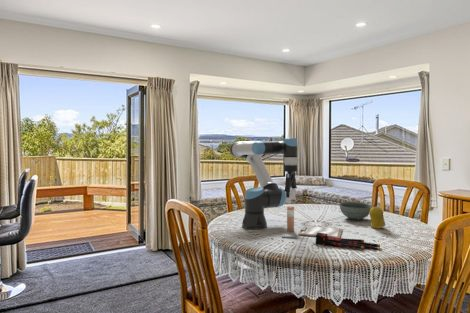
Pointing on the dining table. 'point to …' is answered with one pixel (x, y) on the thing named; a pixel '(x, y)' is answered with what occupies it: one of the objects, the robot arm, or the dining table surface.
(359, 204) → the bowl
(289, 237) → the grey striped tile
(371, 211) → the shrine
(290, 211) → the pastel stick
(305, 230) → the clipboard
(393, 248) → the dining table surface
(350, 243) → the toy
